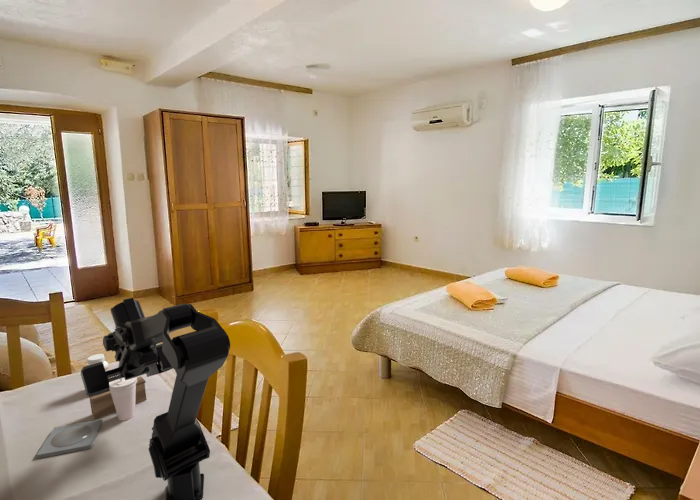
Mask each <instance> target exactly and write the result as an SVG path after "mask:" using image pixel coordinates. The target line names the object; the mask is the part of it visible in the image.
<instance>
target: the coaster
mask: <svg viewBox="0 0 700 500" xmlns="http://www.w3.org/2000/svg"><path fill="white" fill-rule="evenodd" d="M103 424H104V420H103V419H102V418H99V419H94V420H89V421H84V422H78V423H72V424H67V425H60V426H55V427H53V429H52V430H51V432H50V433H49V435H48V437H47V438H46V440H45V441H44V443H43V444H42V445H41V447H40V449H39V450H38V452H37V453H36V459H41V458H48V457H51V456H52V457H53V456H57V455H62V454H68V453H73V452H74V453H75V452H77V451H78V452H79V451H84V450H89V449H92V446H93V445H94V442H95V440H96V438H97V436H98V433H99V432H100V429H101V428H102V425H103Z"/></svg>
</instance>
